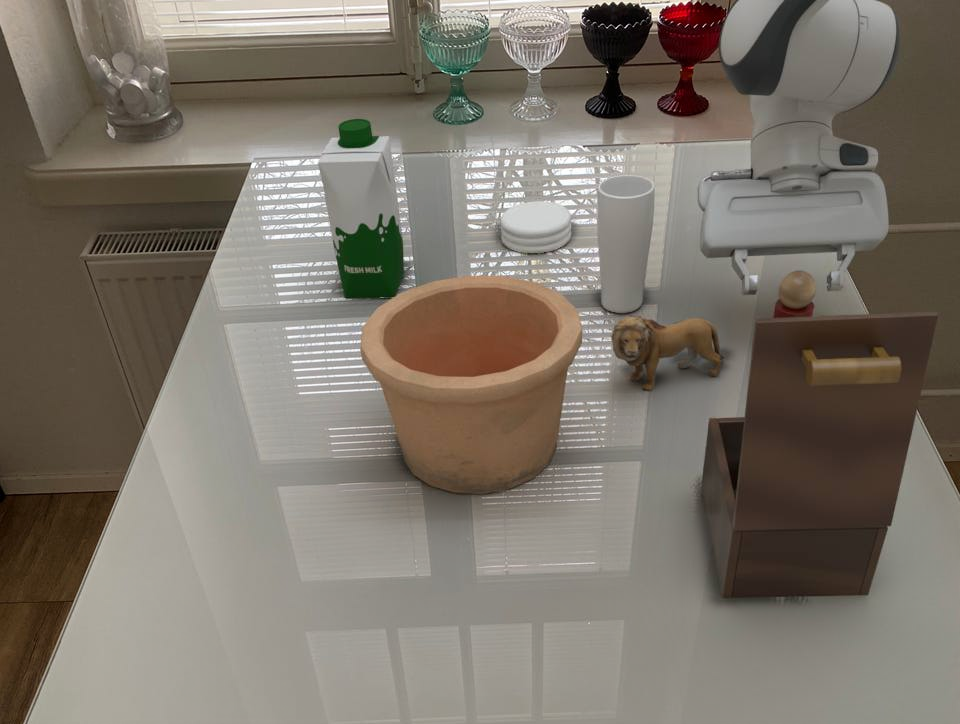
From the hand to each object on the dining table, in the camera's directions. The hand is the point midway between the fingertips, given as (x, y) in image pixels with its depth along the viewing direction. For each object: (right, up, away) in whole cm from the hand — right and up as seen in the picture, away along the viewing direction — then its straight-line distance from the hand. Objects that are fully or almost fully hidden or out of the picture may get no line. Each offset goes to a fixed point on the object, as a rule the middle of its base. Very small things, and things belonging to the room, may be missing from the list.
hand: (792, 291), depth 111 cm
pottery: (-35, -18, -4) cm, 40 cm away
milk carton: (-50, +9, +24) cm, 56 cm away
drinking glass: (-17, +4, +16) cm, 23 cm away
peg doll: (0, -7, +4) cm, 8 cm away
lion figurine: (-14, -9, +3) cm, 17 cm away
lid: (-8, -23, -35) cm, 43 cm away
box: (-7, -30, -18) cm, 36 cm away
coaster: (-27, +18, +30) cm, 44 cm away
